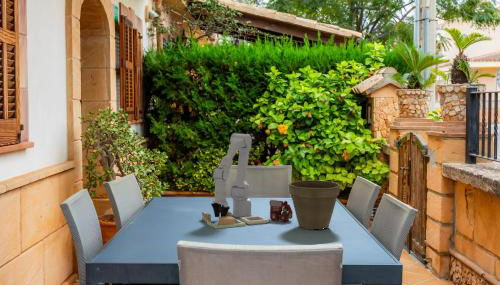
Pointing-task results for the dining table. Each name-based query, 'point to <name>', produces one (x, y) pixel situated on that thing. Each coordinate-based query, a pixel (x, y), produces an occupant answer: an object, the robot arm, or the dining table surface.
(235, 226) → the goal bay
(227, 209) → the robot arm
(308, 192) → the plant pot
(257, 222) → the trap basin
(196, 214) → the dining table surface
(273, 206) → the toy fire truck
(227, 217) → the terracotta block
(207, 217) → the channel walls
